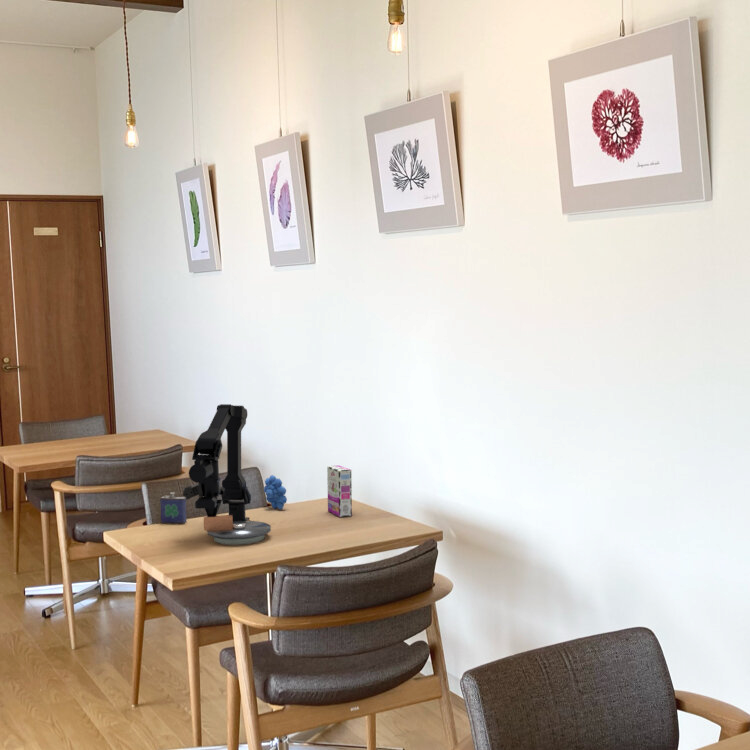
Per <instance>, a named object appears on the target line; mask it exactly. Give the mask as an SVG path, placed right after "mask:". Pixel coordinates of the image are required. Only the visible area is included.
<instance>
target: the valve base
mask: <svg viewBox="0 0 750 750" xmlns="http://www.w3.org/2000/svg"><path fill="white" fill-rule="evenodd" d="M265 536H266V534H265V535H262V536H258V537H253V538H245V539H221V538H215V537H213V540H214V542H215V543H217V544H221V545H229V546H236V545H237V546H239V545H248V544H250V545H251V544H254V543H259V542H261V541H263V540H264V539H265V538H266V537H265Z"/></svg>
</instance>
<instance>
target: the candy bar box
mask: <svg viewBox="0 0 750 750" xmlns="http://www.w3.org/2000/svg"><path fill="white" fill-rule="evenodd" d="M326 468H327V470H326V471H327V473H326V474H327V512H329V513H330V514H332V515H333V516H336V517H338V518H345V517H346V518H347V517H352V516H353V513H352V512H353V511H352V510H353V508H352V506H353V505H352V504H353V502H352V492H353V490H352V486H353V485H352V469H349V468H347V467H344V466H342V465H328V466H327V467H326Z"/></svg>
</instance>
